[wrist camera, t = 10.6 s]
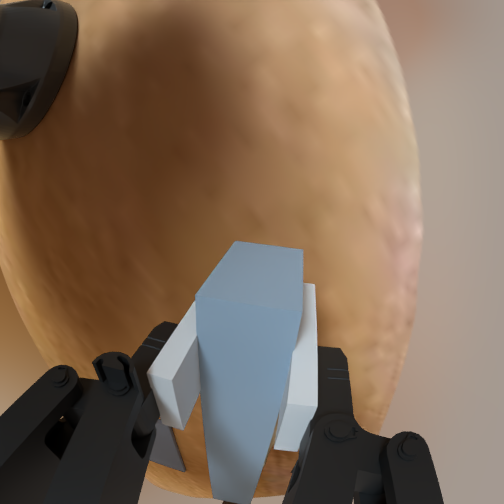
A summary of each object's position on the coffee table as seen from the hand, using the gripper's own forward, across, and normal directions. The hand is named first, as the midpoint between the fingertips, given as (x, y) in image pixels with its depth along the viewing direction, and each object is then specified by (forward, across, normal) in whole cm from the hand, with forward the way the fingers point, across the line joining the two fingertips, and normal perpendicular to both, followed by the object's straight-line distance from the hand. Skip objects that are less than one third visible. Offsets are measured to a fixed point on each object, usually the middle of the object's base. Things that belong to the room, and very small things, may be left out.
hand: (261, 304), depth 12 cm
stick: (0, 0, -7) cm, 7 cm away
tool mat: (+6, -14, -33) cm, 36 cm away
